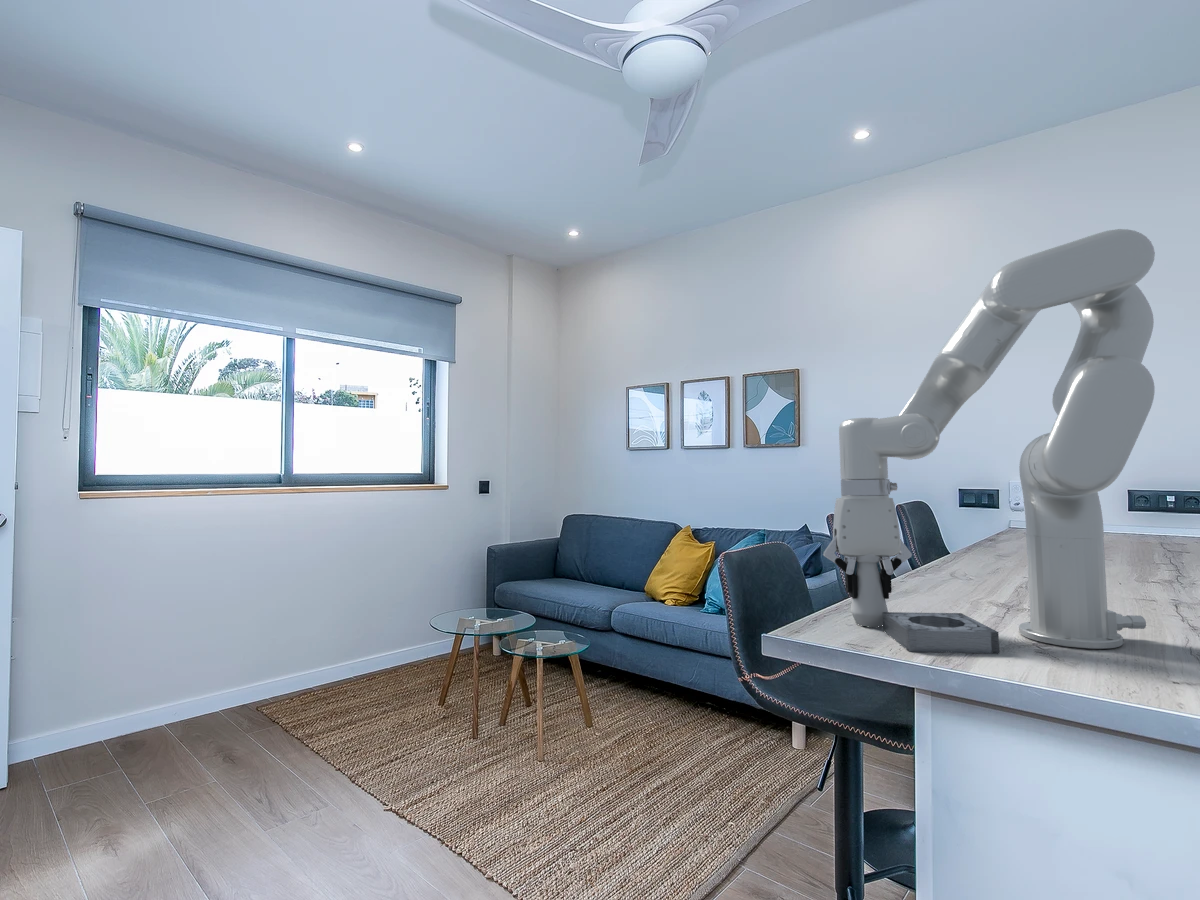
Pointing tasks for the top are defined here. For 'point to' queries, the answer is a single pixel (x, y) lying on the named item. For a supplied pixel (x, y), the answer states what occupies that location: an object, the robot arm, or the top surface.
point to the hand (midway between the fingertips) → (868, 596)
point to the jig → (940, 632)
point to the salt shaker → (868, 593)
